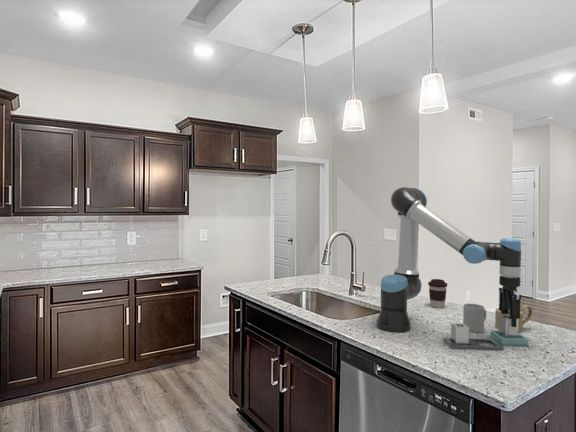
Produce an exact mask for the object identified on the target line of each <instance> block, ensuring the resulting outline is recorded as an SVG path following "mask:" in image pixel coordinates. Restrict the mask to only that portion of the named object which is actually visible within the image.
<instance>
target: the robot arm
mask: <svg viewBox="0 0 576 432" xmlns="http://www.w3.org/2000/svg"><path fill="white" fill-rule="evenodd" d="M390 203H391V206H392V207H393V209H394V210H395V211H396V212H397V216H398V217H399V219H400V223H399V224H400V227H399V242H398V258H397V259H398V260H397V267H396V268H395V269H394V272H393V274H388V275H385V276H382V278H381V281H380V310H379V314H378V316H377V319H376V327H377V328H379V329H380V330H382V331H386V332H393V333H404V332H408V331H410V330H411V329H412V327H411V325H412V324H411V321H410V317H409V314H408V300H411V299H414V298H415V297H417V296H418V295H419V294H420V292H421V290H422V287H423V286H422V281H421V279H420V272H419V271H418V270H417V263H418V262H417V261H418V259H417V258H418V245H419V229H420V226H421V227H423V228H424V229H426V230H427V231H429V232H430V233H432V234H433V235H434V236H436V238H438V239H439V240H440V241H442V242H444V243H445V244H446V245H448V246H450V247H451V248H452V249H454V250H455V251H456V252H458V253H459V254H460V255H462V256H463V258H464V261H466V262H467V263H469V264H472V265H474V264H481V263H482V262H484V261H498V262H499V273H498V274H499V275H500V276H499V285H500V286H502V287H498V293H499V294H498V295H499V296H498V297H499V299H498V308H499V311H501V313H502V315H509V314H510V317H508V318H509V333H508V334H511V335H516V324H517V319H520V310H521V299H522V294H520V293H518V289H517V288H519V287H520V286H521V277H520V276H521V271H522V268H521V266H522V265H521V264H522V263H521V261H522V247H521V246H522V242H521V240H520V239H518V238H500V241H499V242H485V241H475V240H474V239H473V238H471V237H470V236H469V235H467V234H466V233H464V232H463V231H461V230H459V229H458V228H457V227H456V226H455V225H453V224H451V223H450V222H448V221H447V220H445V219H444V218H443V217H441V216H440V215H438V214H436V213H435V212H434V211H432V210H431V209H429V207H427V203H428V197H427V196H426V194H425V192H423V191H422V190H421V189H418V188H416V187H404V186H403V187H399V188H397V189H395V190H394V191H393V193H392V194H391V198H390ZM511 299H512V300H511ZM508 311H509V312H510V313H509V312H508Z"/></svg>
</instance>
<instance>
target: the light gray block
mask: <svg viewBox="0 0 576 432" xmlns="http://www.w3.org/2000/svg"><path fill="white" fill-rule="evenodd" d="M450 327H451V328H450V338H451V342H452V343H453V344H454V345H469V339H470V338H469V335H470V332H469V327H468V326H466V325H465V324H463V323H455V322H454V323H452V322H451V324H450Z"/></svg>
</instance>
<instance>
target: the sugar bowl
mask: <svg viewBox="0 0 576 432" xmlns="http://www.w3.org/2000/svg"><path fill="white" fill-rule="evenodd" d="M511 300H513V299H511ZM526 308H527V309H528V315H527V316H526V317H525V318H524V311H525V309H526ZM508 312H509V311H508ZM509 313H510V312H509ZM494 315H495V316H494V317H495V318H494V321H495V326H494V327H495V329H497V330H498V331H500V315H502V313H501V311H499V307H496V308H495V314H494ZM509 315H510V314H509ZM532 315H533V309H532V307H531V306H530V305H528V304H524V305H522V306H520V319H519V326H518V332H519V333H523V332H524V325H525V324H527V323H528V322H529V321H530V320H531V318H532Z"/></svg>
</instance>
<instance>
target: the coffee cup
mask: <svg viewBox="0 0 576 432" xmlns="http://www.w3.org/2000/svg"><path fill="white" fill-rule="evenodd" d="M427 285H428V286H429V288H428V291H429V302H430V307H431V308H433V309H443V308H445V306H446V304H445V303H446V299H447V287H448V282H445V280H444V279H441V278H440V279H439V278H431V280H430V281H428V283H427Z"/></svg>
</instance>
